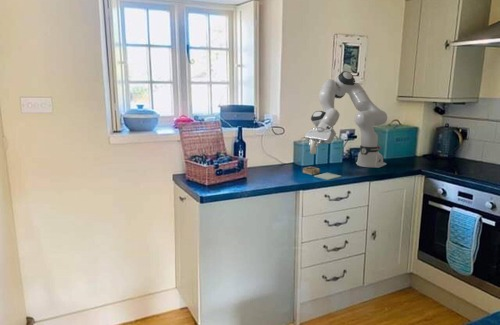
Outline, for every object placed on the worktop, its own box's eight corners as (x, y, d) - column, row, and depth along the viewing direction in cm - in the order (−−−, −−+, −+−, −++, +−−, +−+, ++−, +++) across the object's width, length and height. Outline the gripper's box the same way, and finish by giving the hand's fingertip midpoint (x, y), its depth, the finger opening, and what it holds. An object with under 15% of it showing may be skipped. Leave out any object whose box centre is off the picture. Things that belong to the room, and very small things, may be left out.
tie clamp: (308, 170, 246) (308, 166, 245) (319, 173, 239) (319, 168, 238) (300, 172, 241) (301, 167, 240) (311, 174, 234) (311, 170, 234)
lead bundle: (312, 152, 239) (313, 138, 237) (317, 153, 236) (318, 139, 234) (308, 153, 236) (309, 139, 235) (313, 154, 233) (314, 140, 232)
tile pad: (327, 173, 238) (327, 172, 238) (341, 176, 230) (341, 175, 230) (313, 176, 230) (313, 175, 230) (328, 180, 222) (328, 179, 222)
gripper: (309, 124, 245) (298, 140, 241) (334, 127, 229) (323, 144, 225) (313, 131, 249) (302, 146, 244) (338, 134, 233) (327, 151, 229)
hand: (312, 146), depth 235 cm, fingers closed on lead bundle, 4 cm apart
